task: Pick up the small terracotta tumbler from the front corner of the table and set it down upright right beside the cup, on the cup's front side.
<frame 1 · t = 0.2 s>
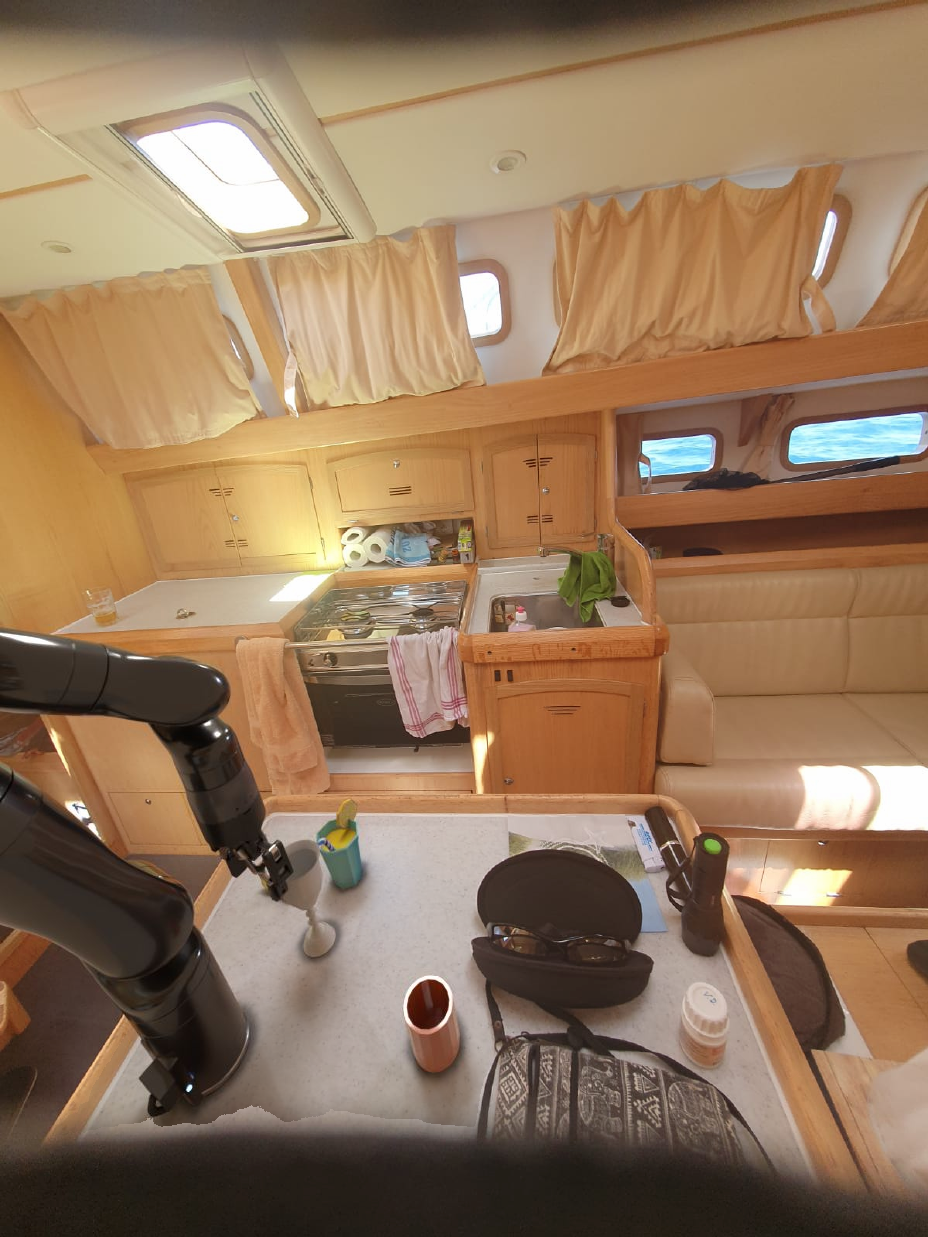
hand: (260, 883, 64), 17 cm above the table, tool pointing down, fingers open, 8 cm apart
cup: (347, 880, 82), on the table
banana: (279, 892, 81), on the table
tumbler: (436, 1041, 59), on the table
chalice: (319, 941, 73), on the table, touching gripper
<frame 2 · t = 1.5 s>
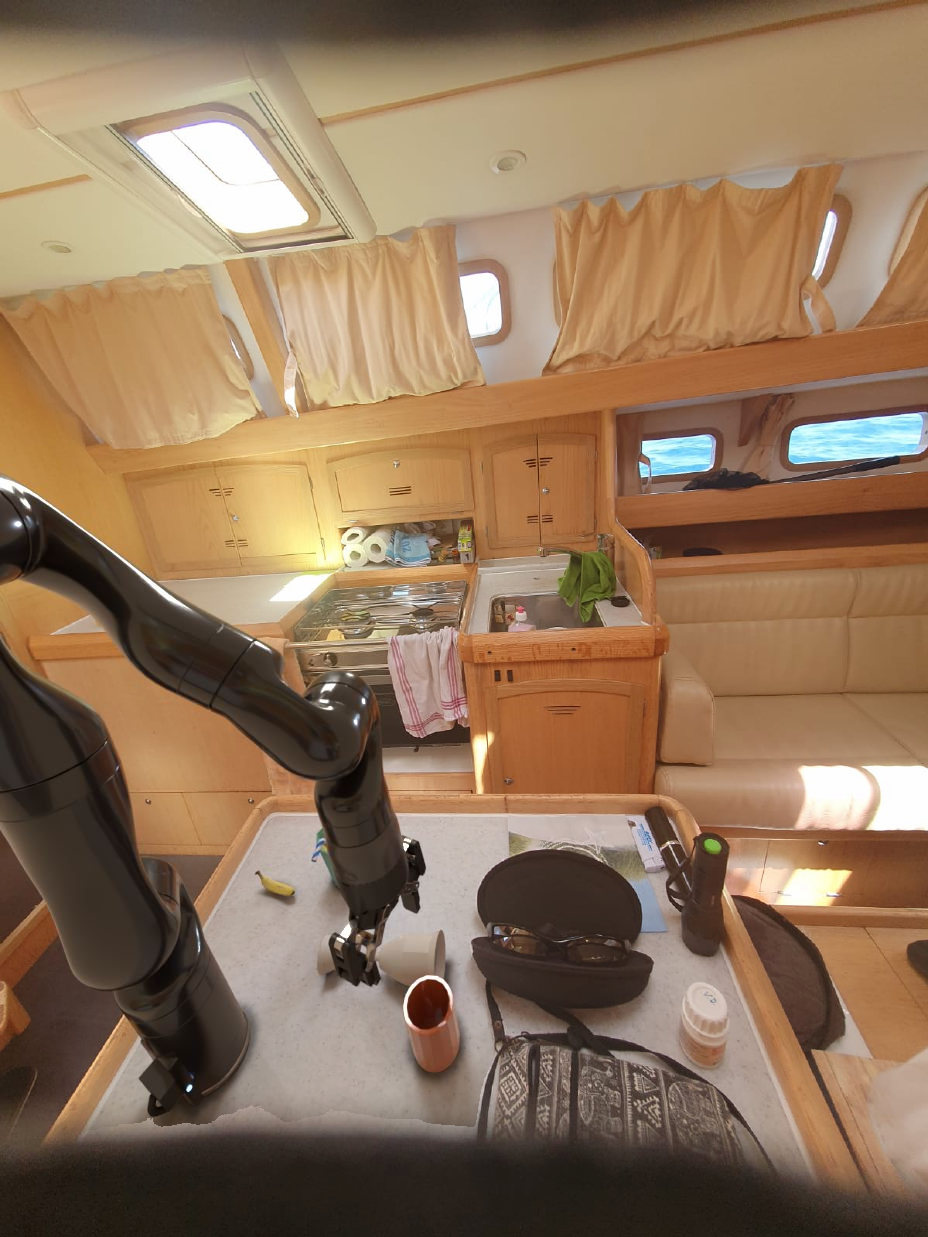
hand: (393, 942, 54), 18 cm above the table, tool pointing down, fingers open, 8 cm apart
chalice: (324, 954, 68), point 3 cm above the table
everything else where it was.
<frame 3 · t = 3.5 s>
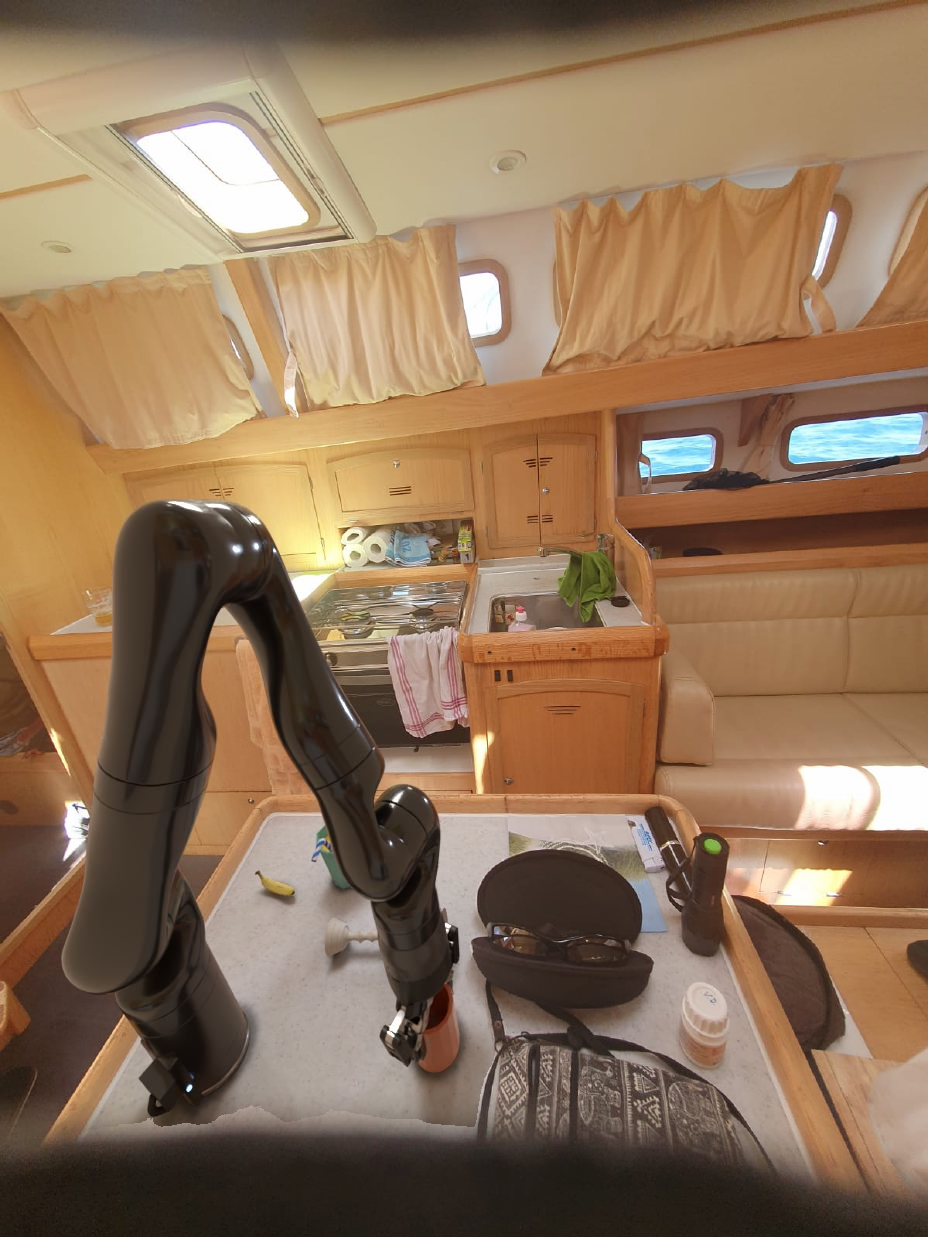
hand: (432, 1022, 57), 5 cm above the table, tool pointing down, fingers closed on tumbler, 6 cm apart
tumbler: (436, 1041, 59), on the table, touching gripper
chalice: (330, 936, 71), point 2 cm above the table
everything else where it was.
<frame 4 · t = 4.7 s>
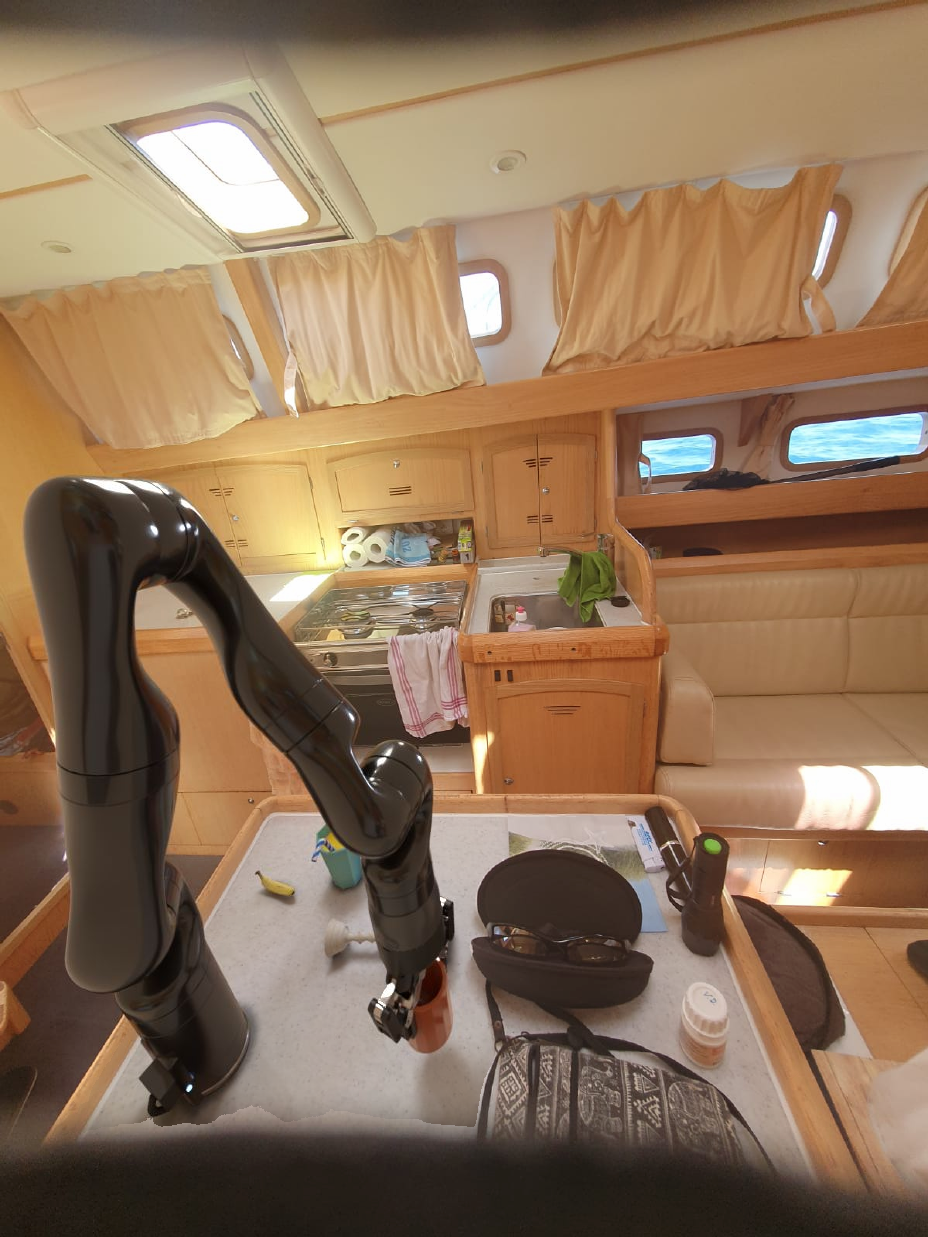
hand: (424, 1001, 55), 11 cm above the table, tool pointing down, fingers closed on tumbler, 6 cm apart
tumbler: (428, 1022, 57), point 6 cm above the table, touching gripper
everything else where it was.
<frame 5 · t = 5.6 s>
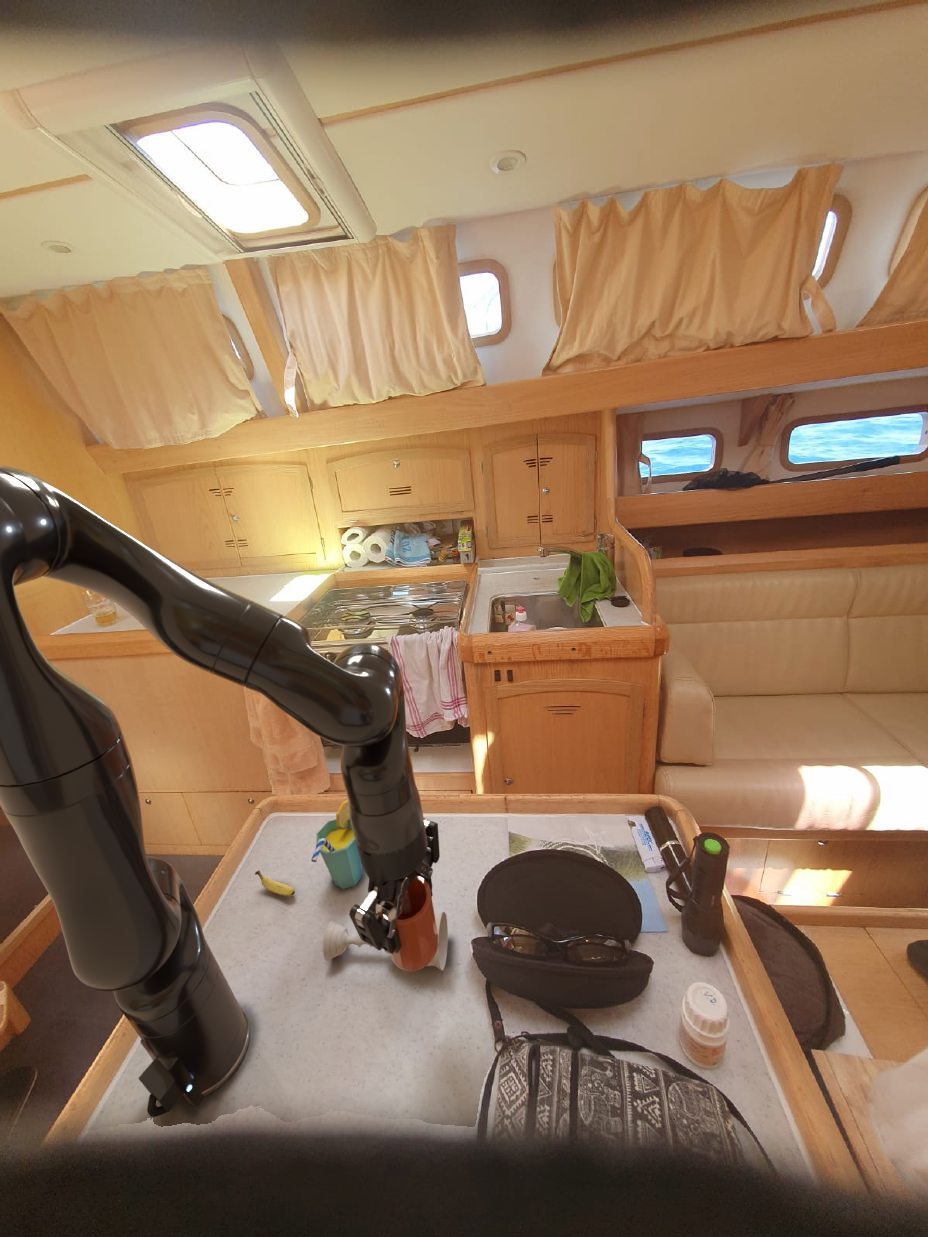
hand: (409, 920, 55), 19 cm above the table, tool pointing down, fingers closed on tumbler, 6 cm apart
tumbler: (414, 944, 57), point 15 cm above the table, touching gripper
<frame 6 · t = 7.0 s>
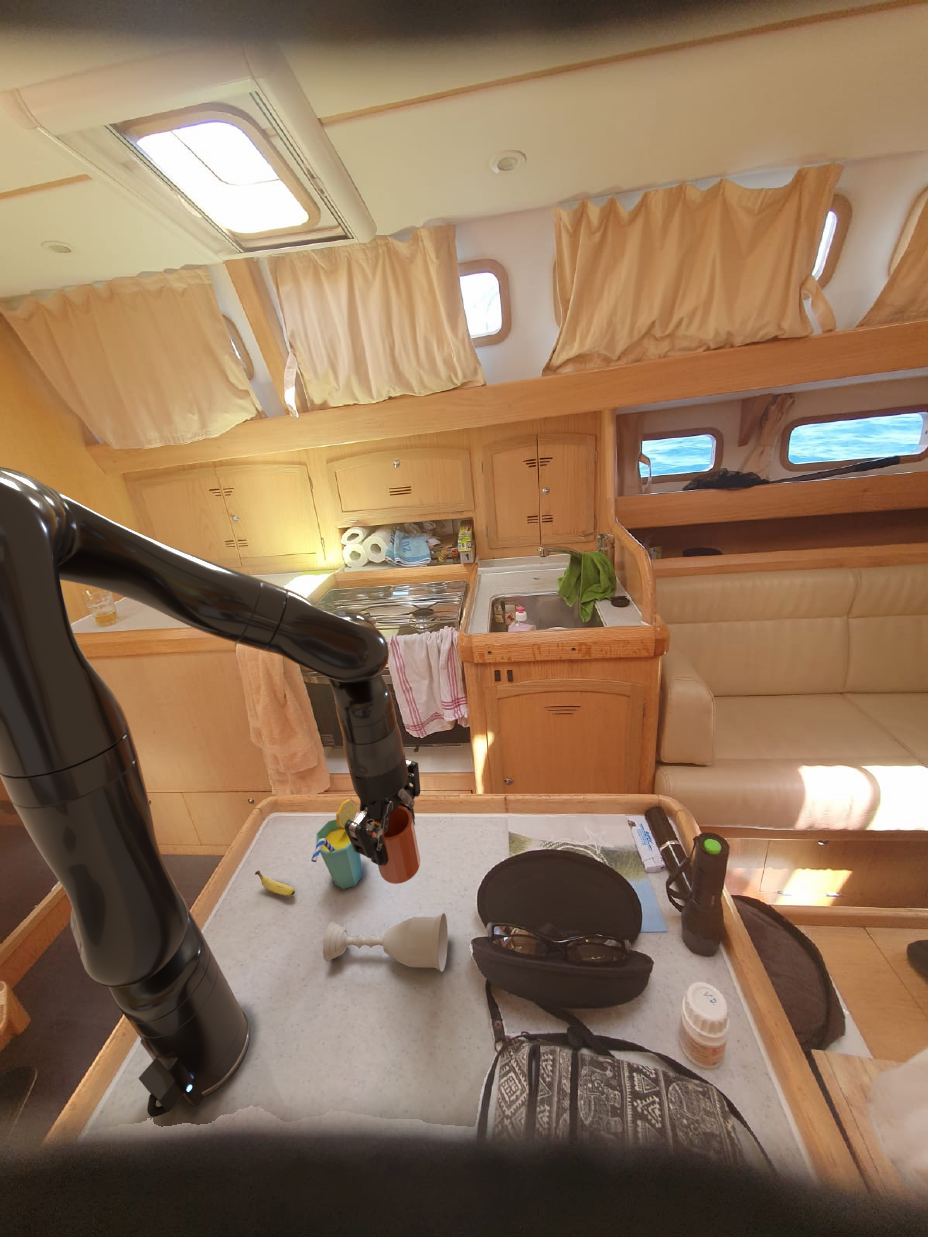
hand: (395, 843, 66), 19 cm above the table, tool pointing down, fingers closed on tumbler, 6 cm apart
tumbler: (400, 864, 68), point 14 cm above the table, touching gripper
everything else where it was.
when the fingers open (5 cm above the table, at t = 10.7 s): tumbler stays where it is, on the table.
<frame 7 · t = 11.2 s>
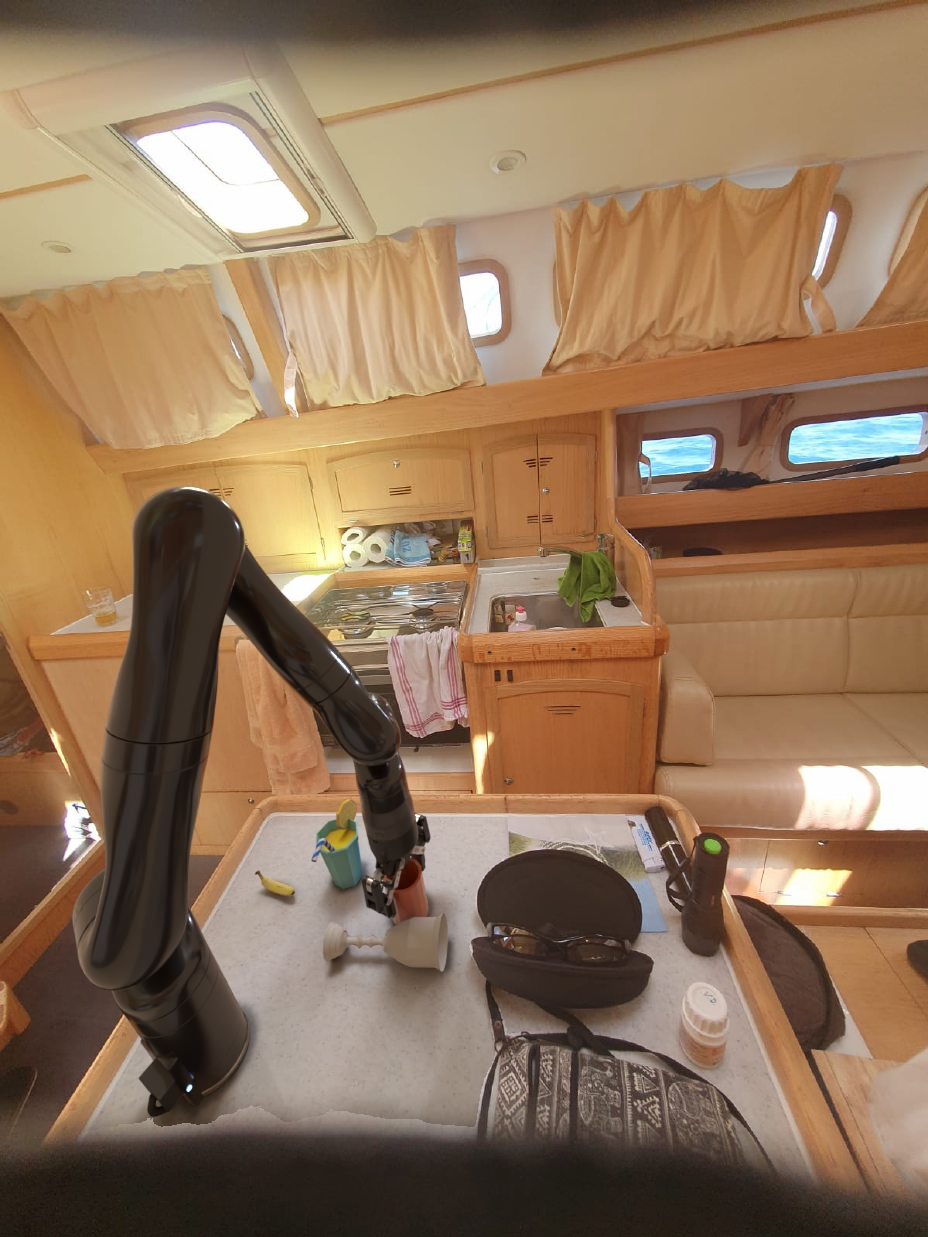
hand: (405, 890, 73), 5 cm above the table, tool pointing down, fingers open, 8 cm apart
tumbler: (410, 910, 76), on the table
everything else where it was.
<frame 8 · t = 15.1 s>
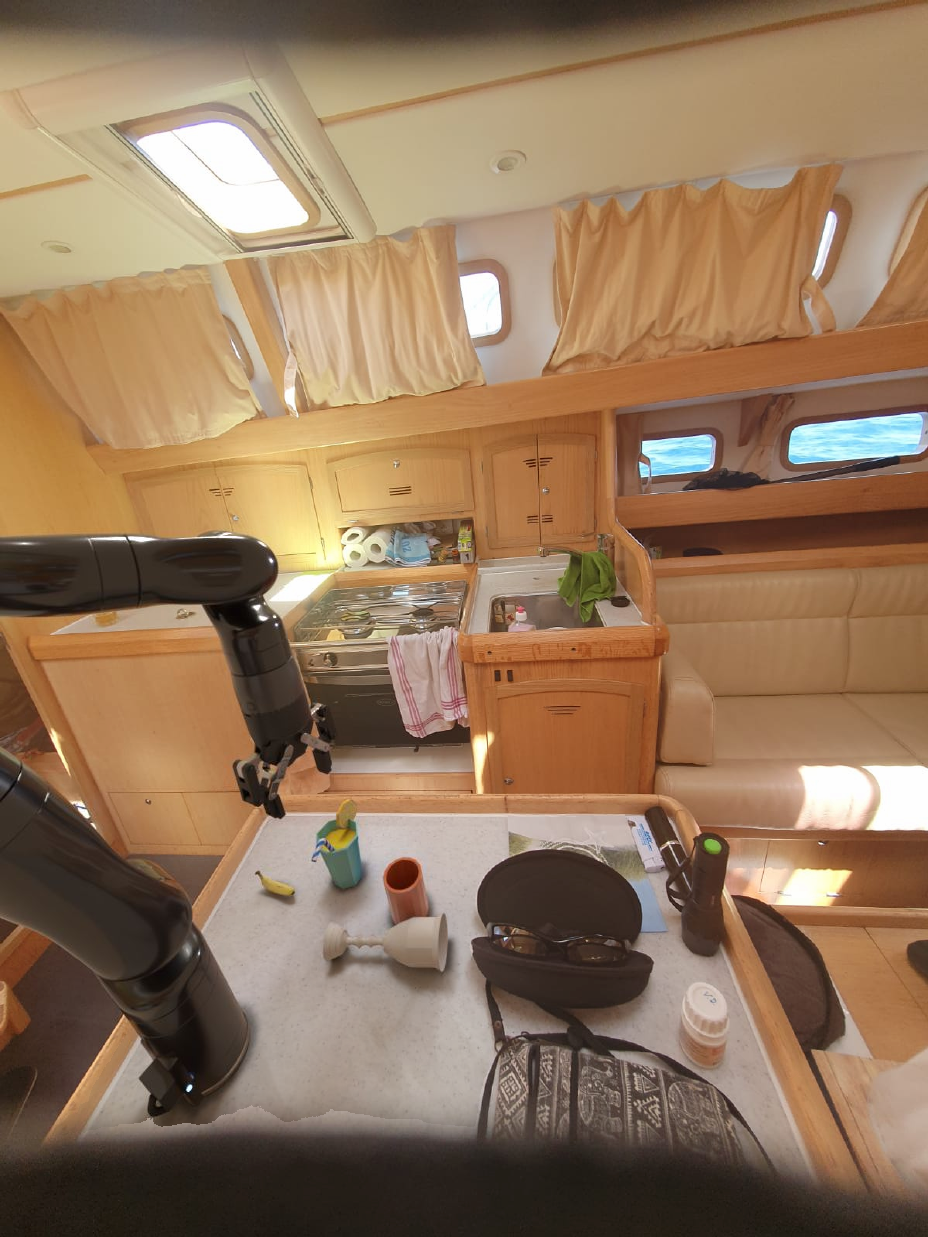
hand: (302, 792, 62), 30 cm above the table, tool pointing down, fingers open, 8 cm apart
nothing on the table moved.
at the end: tumbler 13.9 cm from the cup (horizontally); tumbler inside the target area on the table beside the cup (0.1 cm from its centre), on the table; tumbler tilted 0° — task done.
